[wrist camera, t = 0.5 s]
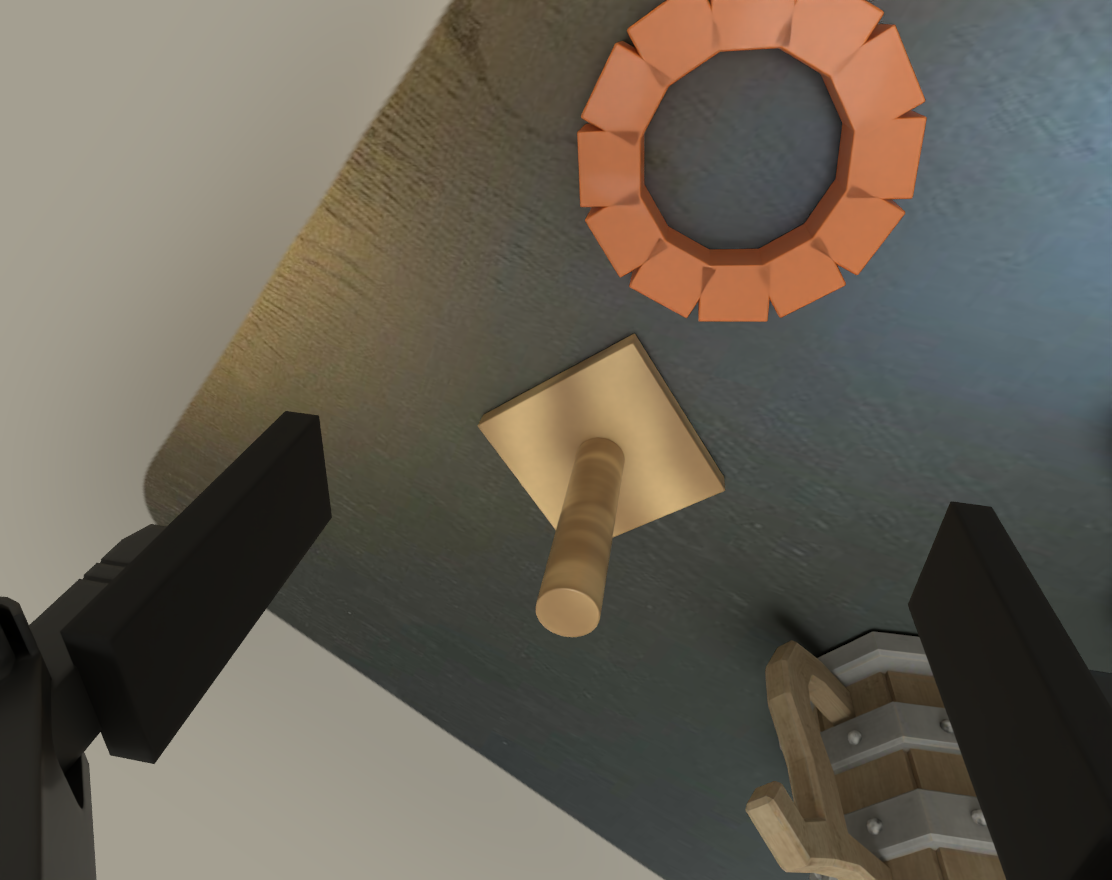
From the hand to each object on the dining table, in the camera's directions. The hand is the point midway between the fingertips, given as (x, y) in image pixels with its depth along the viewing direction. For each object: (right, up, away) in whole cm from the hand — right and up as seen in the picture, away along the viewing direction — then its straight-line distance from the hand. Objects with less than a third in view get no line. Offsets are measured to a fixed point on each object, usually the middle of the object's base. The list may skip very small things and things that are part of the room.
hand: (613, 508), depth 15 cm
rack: (+1, +1, +22) cm, 22 cm away
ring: (+6, +13, +14) cm, 20 cm away
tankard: (+16, -12, +27) cm, 33 cm away
